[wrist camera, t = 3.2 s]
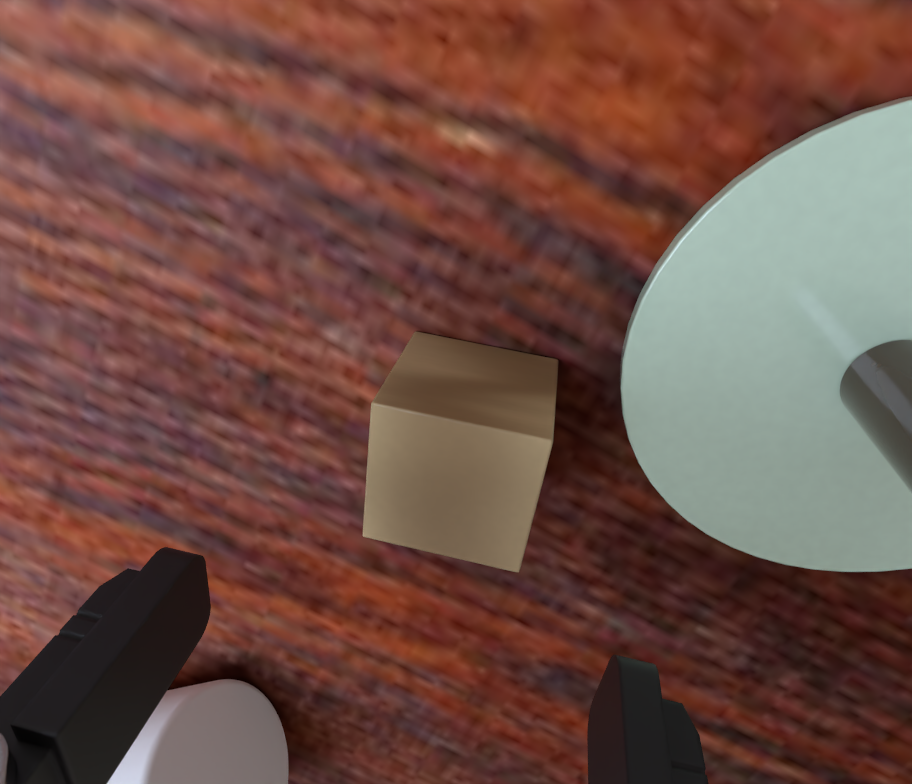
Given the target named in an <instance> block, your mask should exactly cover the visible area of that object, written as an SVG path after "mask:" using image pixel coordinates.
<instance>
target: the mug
mask: <svg viewBox="0 0 912 784" xmlns="http://www.w3.org/2000/svg"><path fill="white" fill-rule="evenodd" d="M288 771H289V767H288V750H287V743H286V738H285V734H284V730H283V727H282V724H281V721H280V719H279V716H278V714H277V712H276V710H275V709H274V707H273V705H272V704H271V702H270V701H269V700H268V698H267V697H266V696H265V695H264V694H263V693H262V692H261V691H259V690H258V689H257V688H255V687H254V686H252V685H250V684H248V683H246V682H243V681H240V680H234V679H221V680H215V681H211V682H206V683H201V684H196V685H191V686H186V687H182V688H177V689H172V690H167V691H166V693H165V695H164V696H163V698H162V699H161V701H160V702H159V704H158V705H157V707H156V709H155V710H154V712H153V713H152V715H151V716H150V718H149V719H148V721H147V722H146V724H145V726H144V727H143V729H142V730H141V732H140V733H139V735H138V736H137V738H136V740H135V741H134V743H133V744H132V746H131V747H130V749H129V750H128V752H127V753H126V755H125V757H124V758H123V760H122V761H121V763H120V764H119V766H118V767H117V769H116V771H115V772H114V774H113V775H112V777H111V778H110V780H109V781H108V783H107V784H288Z"/></svg>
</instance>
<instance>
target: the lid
mask: <svg viewBox="0 0 912 784" xmlns="http://www.w3.org/2000/svg"><path fill="white" fill-rule="evenodd" d="M620 392H621V405H622V414H623V418H624V422H625V427H626V431H627V435H628V439H629V442H630V444H631V446H632V449H633V451H634V454H635V456H636V459H637V461H638V463H639V465H640V466H641V468H642V470H643V471H644V473H645V475H646V476H647V478H648V479H649V481H650V483H651V484H652V485H653V486H654V488H655V489H656V490H657V491H658V492H659V494H660V495H661V496H662V497H663V498H664V500H665V501H666V502H667V503H668V504H669V505H670V506H671V507H672V508H674V509H675V510H676V511H677V512H678V513H679V514H680V515H681V516H682V517H684V518H685V519H686V520H687V521H688V522H690V523H691V524H693V525H694V526H696V527H697V528H699V529H700V530H701V531H703V532H704V533H706V534H707V535H709V536H711V537H713V538H715V539H717V540H719V541H721V542H722V543H724V544H726V545H728V546H730V547H732V548H735V549H738V550H740V551H743V552H745V553H748V554H750V555H753V556H756V557H759V558H762V559H766V560H770V561H773V562H777V563H781V564H784V565H790V566H796V567H802V568H807V569H813V570H825V571H838V572H880V571H891V570H902V569H912V96H910V97H905V98H900V99H896V100H893V101H890V102H886V103H883V104H880V105H876V106H873V107H870V108H867V109H863V110H860V111H857V112H853V113H851V114H849V115H846V116H844V117H842V118H839V119H837V120H835V121H832V122H830V123H828V124H825V125H823V126H820V127H818V128H816V129H813V130H811V131H809V132H807V133H805V134H804V135H802V136H800V137H798V138H796V139H795V140H793V141H791V142H789V143H788V144H786V145H784V146H782V147H780V148H779V149H777V150H775V151H773V152H771V153H770V154H768V155H767V156H765V157H764V158H763V159H761V160H760V161H758V162H757V163H756V164H754V165H753V166H751V167H750V168H748V169H747V170H746V171H744V172H743V173H741V174H740V175H739V176H737V177H736V178H734V179H733V180H732V181H731V182H730V183H729V184H727V185H726V186H725V187H724V188H723V189H722V190H721V191H720V192H718V193H717V194H716V195H715V196H714V197H713V198H712V199H710V200H709V201H708V202H707V203H706V204H705V205H704V206H703V207H702V208H701V209H700V210H699V211H698V212H697V213H696V214H695V215H694V217H693V218H692V219H691V220H690V221H689V222H688V223H687V224H686V225H685V226H684V228H683V229H682V230H681V231H680V232H679V233H678V234H677V235H676V237H675V238H674V240H673V241H672V242H671V244H670V245H669V247H668V248H667V249H666V251H665V252H664V254H663V255H662V256H661V258H660V259H659V261H658V262H657V263H656V265H655V267H654V269H653V270H652V272H651V274H650V276H649V278H648V280H647V282H646V283H645V285H644V287H643V289H642V291H641V293H640V295H639V297H638V300H637V302H636V305H635V308H634V310H633V313H632V316H631V318H630V321H629V323H628V327H627V332H626V336H625V341H624V345H623V349H622V355H621V368H620Z"/></svg>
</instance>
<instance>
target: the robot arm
mask: <svg viewBox="0 0 912 784" xmlns="http://www.w3.org/2000/svg"><path fill="white" fill-rule="evenodd" d="M210 609H211V605H210V596H209V588H208V579H207V571H206V563H205V559H204V557H203V556H201V555H197V554H193V553H189V552H185V551H180V550H176V549H172V548H168V547H164V548H162V549H160V550H159V551H157V552H156V553H155V554H154V555H153V557H152V558H151V559H150V560H149V561H148V562H147V564H146V565H145V566H144V567H143V568H142V570H141V571H136V570H132V569H126V570H125V571H123V572H122V573H120V574H119V575H117V576H115V577H114V578H112V579H111V580H109V581H108V582H106V583H104V584H103V585H101V586H100V587H99V588H98V589H97V590H96V591H95V592H94V593H93V594H92V595H91V597H90V598H89V599H88V600H87V601H86V602H85V603H84V604H83V605H82V607H81V608H80V609H79V610H78V613H77V615H76V616H75V615H73V616H72V618H71V619H70V620H69V621H68V622H67V623H66V624H65V625H64V626H63V628H62V629H61V630H60V633H59V635H58V636H56V635H55V636H54V638H53V639H52V640H51V641H50V642H49V643H48V644H47V645H46V646H45V648H44V649H43V650H42V651H41V652H40V653H39V654H38V655H37V656H36V658H35V659H34V660H33V661H32V662H31V663H30V664H29V665H28V666H27V667H26V669H25V670H24V671H23V672H22V673H21V674H20V675H19V676H18V677H17V679H16V680H15V681H14V682H13V683H12V684H11V685H10V686H9V687H8V689H7V690H6V691H5V692H4V693H3V694H2V695H1V696H0V784H107V783H108V781H109V780H110V778H111V777H112V775H113V774H114V772H115V771H116V769H117V767H118V766H119V764H120V763H121V761H122V760H123V758H124V757H125V755H126V753H127V752H128V750H129V749H130V747H131V746H132V744H133V743H134V741H135V740H136V738H137V736H138V735H139V733H140V732H141V730H142V729H143V727H144V726H145V724H146V722H147V721H148V719H149V718H150V716H151V715H152V713H153V712H154V710H155V709H156V707H157V705H158V704H159V702H160V701H161V699H162V698H163V696H164V695H165V693H166V691H167V690H168V688H169V687H170V685H171V684H172V682H173V681H174V679H175V678H176V676H177V674H178V673H179V671H180V670H181V668H182V667H183V665H184V664H185V662H186V660H187V659H188V657H189V656H190V654H191V653H192V651H193V650H194V648H195V647H196V645H197V643H198V642H199V640H200V639H201V637H202V635H203V633H204V631H205V629H206V626H207V623H208V620H209V616H210ZM588 783H589V784H708V779H707V775H705V763H704V758H703V753H702V747H701V742H700V737H699V734H698V732H697V730H696V728H695V727H694V725H693V723H692V721H691V719H690V717H689V715H688V714H687V712H686V710H685V708H684V706H683V704H682V703H678V702H673V701H669V700H665V699H662V695H661V687H660V680H659V674H658V670H657V667H656V666H655V665H654V664H652V663H648V662H644V661H639V660H635V659H631V658H627V657H622V656H618V655H613V656H612V657H611V659H610V661H609V663H608V666H607V668H606V670H605V673H604V675H603V677H602V680H601V682H600V684H599V687H598V689H597V692H596V694H595V696H594V699H593V701H592V705H591V709H590V714H589V721H588Z"/></svg>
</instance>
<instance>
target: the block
mask: <svg viewBox="0 0 912 784" xmlns="http://www.w3.org/2000/svg"><path fill="white" fill-rule="evenodd" d="M558 363H559V361H558V360H557V359H553V358H548V357H543V356H538V355H533V354H528V353H523V352H517V351H512V350H507V349H502V348H497V347H492V346H487V345H482V344H477V343H472V342H467V341H462V340H457V339H451V338H446V337H441V336H436V335H431V334H426V333H421V332H414V334H413V336H412V337H411V339H410V341H409V342H408V344H407V346H406V347H405V349H404V351H403V352H402V354H401V355H400V357H399V359H398V360H397V362H396V364H395V365H394V367H393V369H392V370H391V372H390V374H389V375H388V377H387V378H386V380H385V382H384V383H383V385H382V387H381V388H380V390H379V392H378V393H377V395H376V397H375V398H374V400H373V402H372V403H371V415H370V430H369V445H368V460H367V476H366V491H365V506H364V522H363V536H364V537H367V538H371V539H375V540H379V541H384V542H388V543H392V544H397V545H401V546H405V547H410V548H414V549H418V550H423V551H427V552H431V553H436V554H440V555H444V556H449V557H453V558H457V559H461V560H466V561H470V562H474V563H479V564H483V565H487V566H492V567H496V568H500V569H505V570H509V571H513V572H519V571H520V567H521V564H522V560H523V556H524V552H525V548H526V544H527V541H528V537H529V533H530V529H531V525H532V521H533V518H534V514H535V510H536V506H537V502H538V498H539V495H540V491H541V487H542V483H543V479H544V475H545V472H546V468H547V464H548V460H549V456H550V452H551V449H552V445H553V438H554V423H555V408H556V393H557V378H558Z"/></svg>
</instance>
